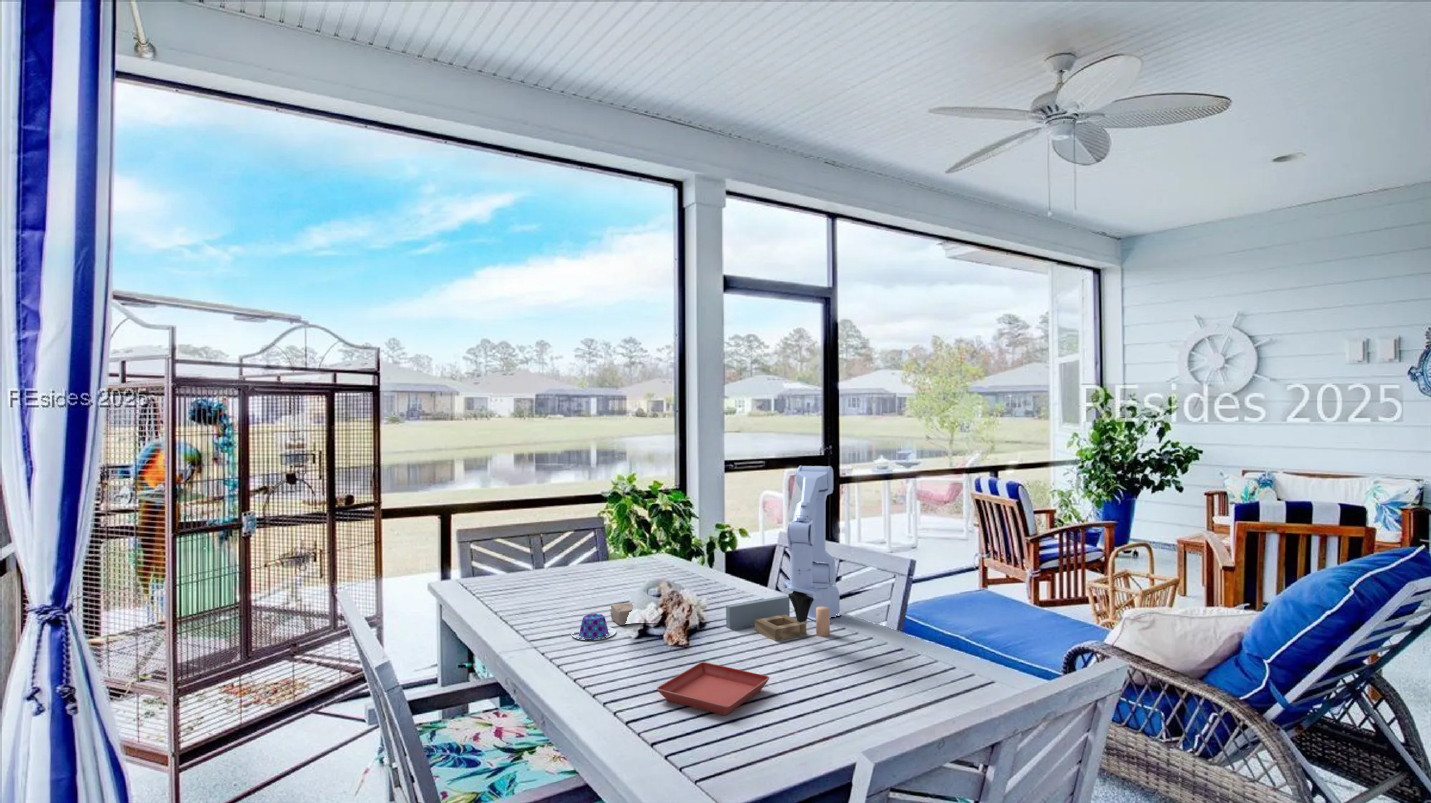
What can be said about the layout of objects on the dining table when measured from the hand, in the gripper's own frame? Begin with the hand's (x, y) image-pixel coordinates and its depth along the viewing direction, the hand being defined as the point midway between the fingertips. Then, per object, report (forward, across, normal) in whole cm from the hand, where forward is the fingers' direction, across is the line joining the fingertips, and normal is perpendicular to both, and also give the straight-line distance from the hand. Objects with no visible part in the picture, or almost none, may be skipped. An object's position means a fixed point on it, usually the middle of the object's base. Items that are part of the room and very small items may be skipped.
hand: (801, 621), depth 191 cm
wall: (+6, -21, 0) cm, 22 cm away
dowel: (+6, -3, +9) cm, 11 cm away
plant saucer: (+6, +18, -36) cm, 41 cm away
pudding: (+6, -35, -44) cm, 57 cm away
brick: (+6, -42, -27) cm, 50 cm away
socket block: (+6, -10, 0) cm, 12 cm away
